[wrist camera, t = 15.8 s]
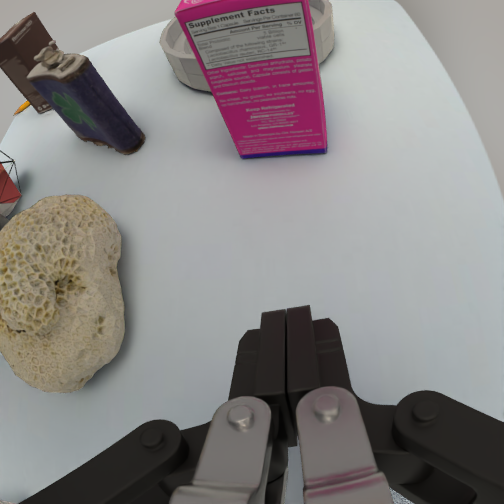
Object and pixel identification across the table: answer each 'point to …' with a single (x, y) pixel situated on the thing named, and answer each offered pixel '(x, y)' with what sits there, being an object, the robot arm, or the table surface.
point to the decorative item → (60, 292)
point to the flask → (84, 100)
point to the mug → (5, 503)
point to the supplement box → (260, 72)
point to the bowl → (187, 63)
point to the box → (25, 56)
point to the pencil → (22, 107)
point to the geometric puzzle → (7, 190)
